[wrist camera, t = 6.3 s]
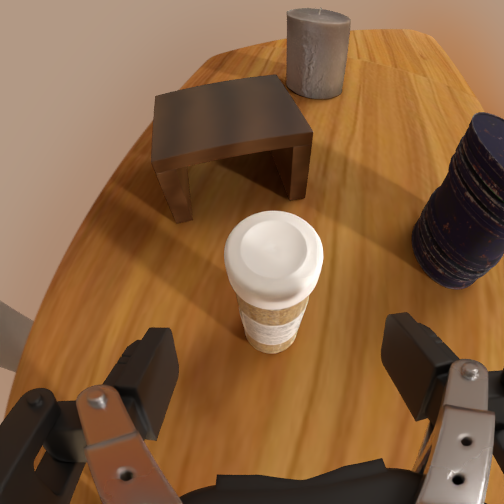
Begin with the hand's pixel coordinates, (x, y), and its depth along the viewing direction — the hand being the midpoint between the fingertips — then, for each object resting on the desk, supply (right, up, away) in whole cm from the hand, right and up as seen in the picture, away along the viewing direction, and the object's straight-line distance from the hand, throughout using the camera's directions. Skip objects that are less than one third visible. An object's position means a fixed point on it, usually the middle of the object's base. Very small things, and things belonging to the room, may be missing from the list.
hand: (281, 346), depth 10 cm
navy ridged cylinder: (+20, +4, +17) cm, 27 cm away
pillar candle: (+9, +31, +34) cm, 47 cm away
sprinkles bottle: (+1, -3, +15) cm, 15 cm away
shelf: (-3, +13, +24) cm, 27 cm away
